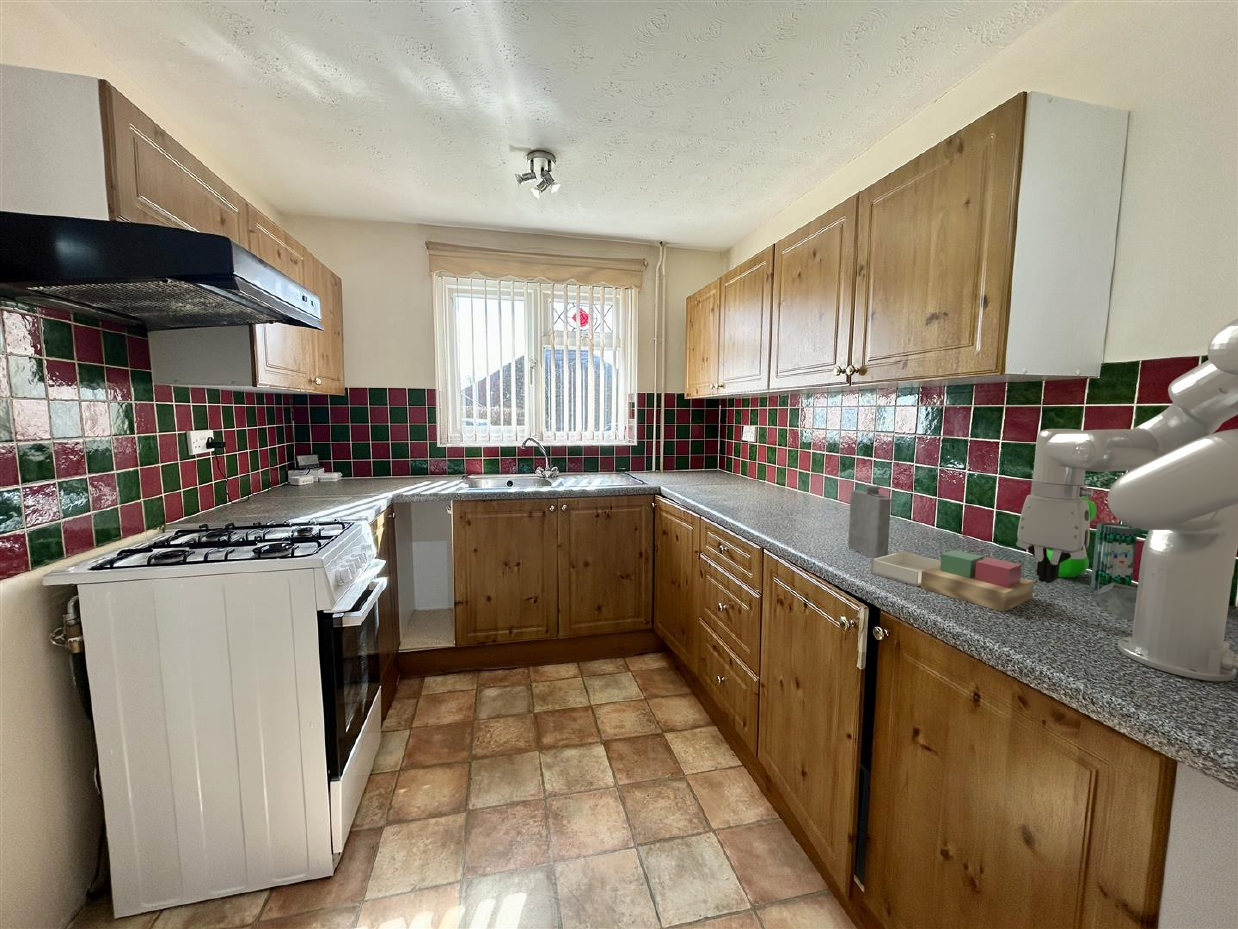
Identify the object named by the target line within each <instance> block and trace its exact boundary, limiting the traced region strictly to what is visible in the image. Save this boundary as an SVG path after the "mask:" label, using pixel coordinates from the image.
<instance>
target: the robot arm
mask: <svg viewBox="0 0 1238 929" xmlns="http://www.w3.org/2000/svg"><path fill="white" fill-rule="evenodd" d="M1206 351H1207V358H1208V360H1206V361H1204V362H1202V363H1200V364H1199V365H1197V366H1195V367H1194V368H1192V369H1190V370H1189V371H1187V372H1185V373H1183V374H1182V375H1180V376H1179V377H1176V378H1175V379H1174V380H1173V381H1172V382H1171V383H1170V384H1169V386H1168V389H1167V391H1168V392H1167V393H1168V396H1169V398H1170V400H1171V401H1172V403H1171V404H1170V405H1169V406H1168V407H1166V409H1165V410H1164V411H1161V413H1159V414H1157V415H1156V416H1154V417H1152V418H1151V419H1149V420H1147V421H1145V422H1143V423H1141V424H1140V425H1138V426H1136V427H1132V428H1131V429H1130V428H1129V429H1126V428H1122V429H1121V428H1120V429H1119V428H1117V429H1116V428H1115V429H1114V428H1113V429H1089V430H1087V429H1086V430H1082V429H1078V428H1077V429H1075V428H1074V429H1073V428H1046V429H1042V430H1040V431H1039V432H1038V434H1037V436H1036V443H1035V444H1036V445H1035V454H1034V463H1033V472H1032V473H1033V474H1032V480H1031V481H1032V482H1031V492H1030V493H1031V494H1028V495H1026V498H1025V501H1024V503H1023V507H1022V509H1021V514H1020V518H1019V521H1018V526H1017V541H1016V543H1015V544H1016V546H1017V547H1019V548H1021V549H1024V550H1027V551H1029V553H1030V554H1031V555H1032V556H1033V557H1034V558H1035V561H1036V560H1037V561H1038V563H1037V566H1036V576H1038V582H1041V583H1043V582H1044V583H1046V584H1051V583H1053V582H1055V581H1056V580H1058V578H1059V577H1058V575H1059V566H1060V563H1061V562H1063V561H1065V560H1067V559H1084V558H1086V557H1088V555H1087V554H1088V553H1087V550H1086V549H1087V548H1088V547H1089V544H1090V538H1091V536H1090V532H1091V530H1090V529H1091V522H1090V514H1089V505H1088V501H1084V500H1082V498H1084V497H1087V498H1088V497H1093V495H1094V489H1089V488H1087V486H1086V484H1085V477H1086V471H1087V472H1119V471H1121V472H1122V471H1123V472H1124V471H1125V473H1123V475H1121V476H1119V477H1118V478H1117V479H1116V480H1115V481H1114V482H1113V484H1112V485H1111V487H1110V488H1109V490H1108V493H1107V505H1108V508H1109V511H1110V512H1111V513H1112V515H1113V516H1115V518H1116V519H1117V520H1119V521H1120V522H1122V524H1123V523H1124V525H1129V526H1132V527H1135V528H1138V530H1144V531H1148V532H1147V534H1146V537H1145V539H1144V542H1143V547H1142V551H1141V559H1140V565H1139V573H1138V583H1137V598H1136V607H1135V615H1134V620H1133V624H1132V625H1133V627H1132V634H1131V636H1127V637H1122V638H1120V639H1118V640H1117V646H1116V647H1117V649H1118V650H1119V652H1121V653H1122V654H1123V655H1125V656H1126V657H1128V658H1130V659H1132V660H1133V661H1136V662H1137V663H1139V664H1143V665H1145V666H1148V667H1150V668H1153V669H1156V670H1159V671H1161V672H1166V673H1168V674H1173V675H1177V676H1181V677H1183V678H1184V677H1185V678H1189V679H1190V678H1191V679H1195V680H1201V681H1209V682H1229V681H1233V680H1234V679H1236V677H1237V671H1238V654H1237V653H1235V651H1232V650H1230V645H1231V643H1230V642H1228V641H1224V640H1225V634H1226V627H1227V626H1226V625H1227V619H1228V612H1229V606H1230V597H1231V590H1232V584H1233V583H1232V582H1233V577H1234V572H1235V567H1236V566H1235V565H1236V558H1237V552H1238V428H1233V429H1228V430H1227V429H1226V430H1222V431H1218V432H1216V431H1217V430H1218V429H1219V428H1220V427H1221V426H1222V424H1223V423H1225V422H1226V421H1228V420H1230V419H1231V418H1234V417H1236V416H1237V415H1238V318H1236V319H1234V320H1232V321H1230V322H1228V323H1227V324H1226V325H1224V326H1223V327H1222V328H1219V330H1218V331H1216V333H1215V334H1214V335H1213V337H1212V338H1211V339H1210V341H1209V343H1208V346H1207V349H1206ZM1047 548H1050V549H1054V550H1053V553H1052V557H1051V560H1049V558H1048V550H1047ZM1037 561H1036V562H1037Z"/></svg>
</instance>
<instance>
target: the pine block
mask: <svg viewBox="0 0 1238 929" xmlns="http://www.w3.org/2000/svg"><path fill="white" fill-rule="evenodd" d="M940 566H941V565H940ZM940 566H937V567H934V568H930V569H927V570H924V571H922V577H921V585H920V589H924V590H927V591H930V592H934V593H937V594H940V595H944V596H947V597H951V598H953V599H957V600H961V601H965V602H967V601H968V603H972V604H975V605H976V606H977V605H978V606H981V607H985V608H989V609H992V610H995V611H999V612H1002V613H1005V612H1008V611H1009V610H1011V609H1013V608H1015V607H1017V606H1019V605H1021V604H1023V603H1027V601H1030V600H1032V599H1033V593H1034V591H1033V590H1034V584H1035V583H1034V582H1035V581H1034V580H1032V579H1028V578H1023V577H1021V579H1020V583H1018V584H1016V585H1014V586H1011V587H1009V588H1006V587H1002V586H998V585H995V584H991V583H987V582H983V581H979V580H975V576H974V577H972V578H967V577H963V576H959V575H955V574H951V573H947V572H943V571H940Z"/></svg>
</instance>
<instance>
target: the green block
mask: <svg viewBox="0 0 1238 929" xmlns="http://www.w3.org/2000/svg"><path fill="white" fill-rule="evenodd" d="M983 559H985V557H984V556H983V555H978V554H975V553H969V552H965V551H961V550H956V549H953V550H950V551H946V552H942V553H941V554H940V560H941V566H940V571H943V572H947V573H951V574H955V575H959V576H963V577H967V578H972V577H974V576H975V571H976V562H977V561H980V560H983Z"/></svg>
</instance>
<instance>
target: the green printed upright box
mask: <svg viewBox="0 0 1238 929" xmlns="http://www.w3.org/2000/svg"><path fill="white" fill-rule="evenodd" d="M1138 531H1139V529H1138V528H1135V527H1132V526H1129V525H1127V524H1125V523H1124V524H1123V523H1115V522H1097V523H1096V531H1095V532H1096V533H1095V540H1094V550H1093V561H1092V568H1091V570H1092V571H1091V580H1090V587H1091V588H1092V589H1093V588H1094V589H1093V590H1096V589H1098V590H1099V589H1101V588H1102V587H1103V586H1106V585H1108V584H1110V583H1117V584H1121V585H1126V586H1131V587H1132V583H1133V582H1132V581H1133V573H1134V565H1135V557H1136V547H1137V541H1138V540H1137V538H1138ZM1098 590H1097V591H1098Z"/></svg>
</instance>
